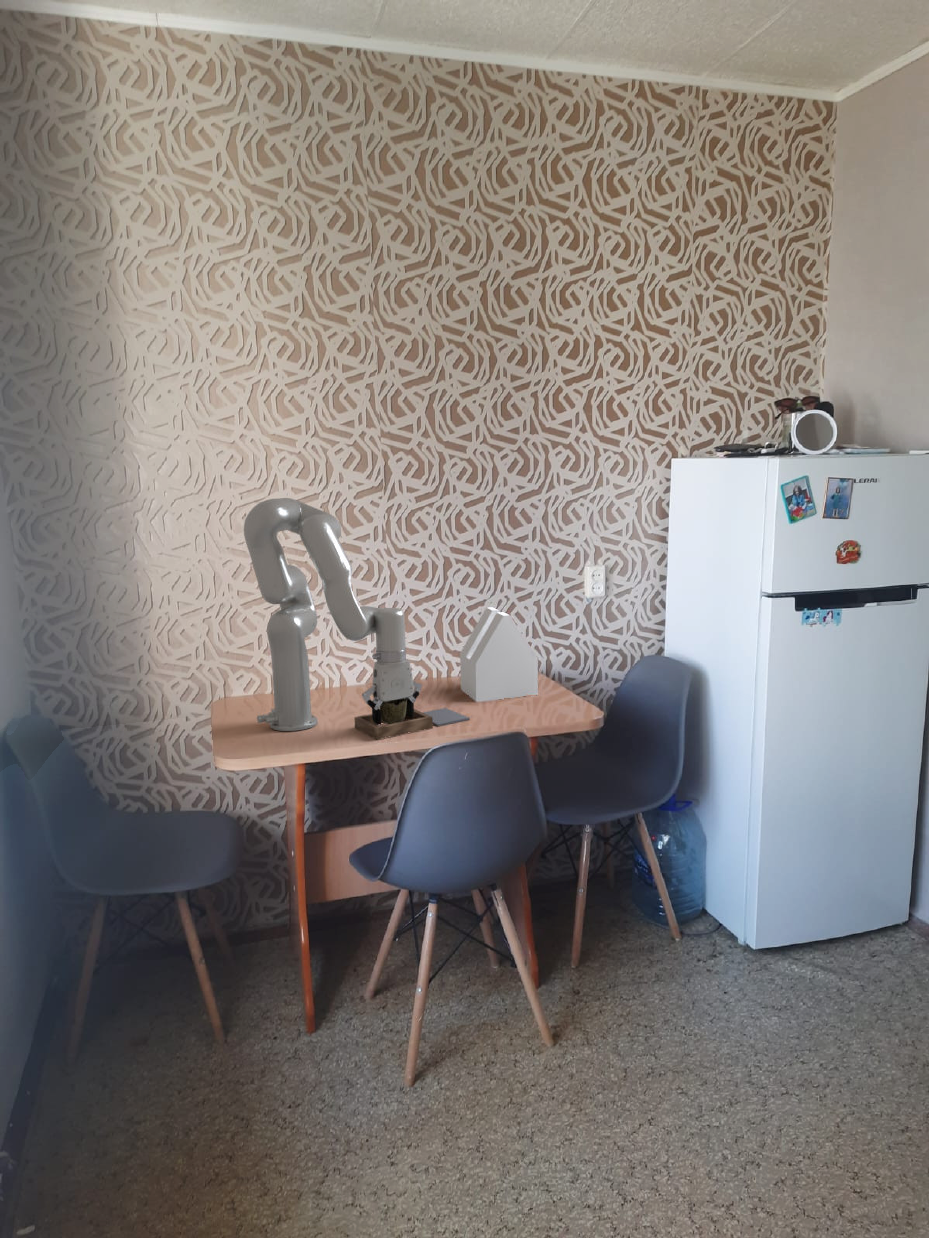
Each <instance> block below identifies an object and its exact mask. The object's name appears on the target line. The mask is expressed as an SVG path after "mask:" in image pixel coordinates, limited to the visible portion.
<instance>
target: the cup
mask: <svg viewBox="0 0 929 1238" xmlns="http://www.w3.org/2000/svg"><path fill="white" fill-rule="evenodd" d="M406 707H407V698H405V699H400V700H394V701H389V702H382V704H381V706H380V707H379V709H380V710H381V717H382V719H383V721H384V722H386V723H385V724H386V725H389V724H394V723H399V722H404V721H405V720H404V718H405V715H406Z"/></svg>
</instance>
